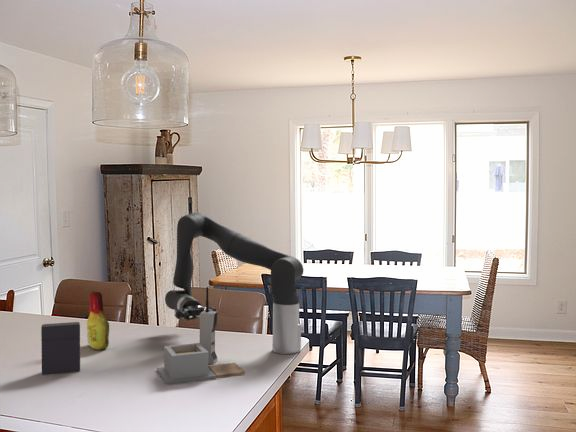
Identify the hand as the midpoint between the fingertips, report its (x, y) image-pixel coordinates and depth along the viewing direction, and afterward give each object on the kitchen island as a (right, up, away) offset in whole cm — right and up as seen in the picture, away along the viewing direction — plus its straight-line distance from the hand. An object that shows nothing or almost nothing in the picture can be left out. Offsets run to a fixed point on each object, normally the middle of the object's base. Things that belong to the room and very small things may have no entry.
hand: (200, 316), depth 199 cm
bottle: (-38, -12, +7) cm, 41 cm away
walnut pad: (+11, -14, -17) cm, 25 cm away
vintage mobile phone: (+4, -14, -8) cm, 17 cm away
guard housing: (-1, -14, -22) cm, 26 cm away
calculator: (-40, -14, -20) cm, 47 cm away
